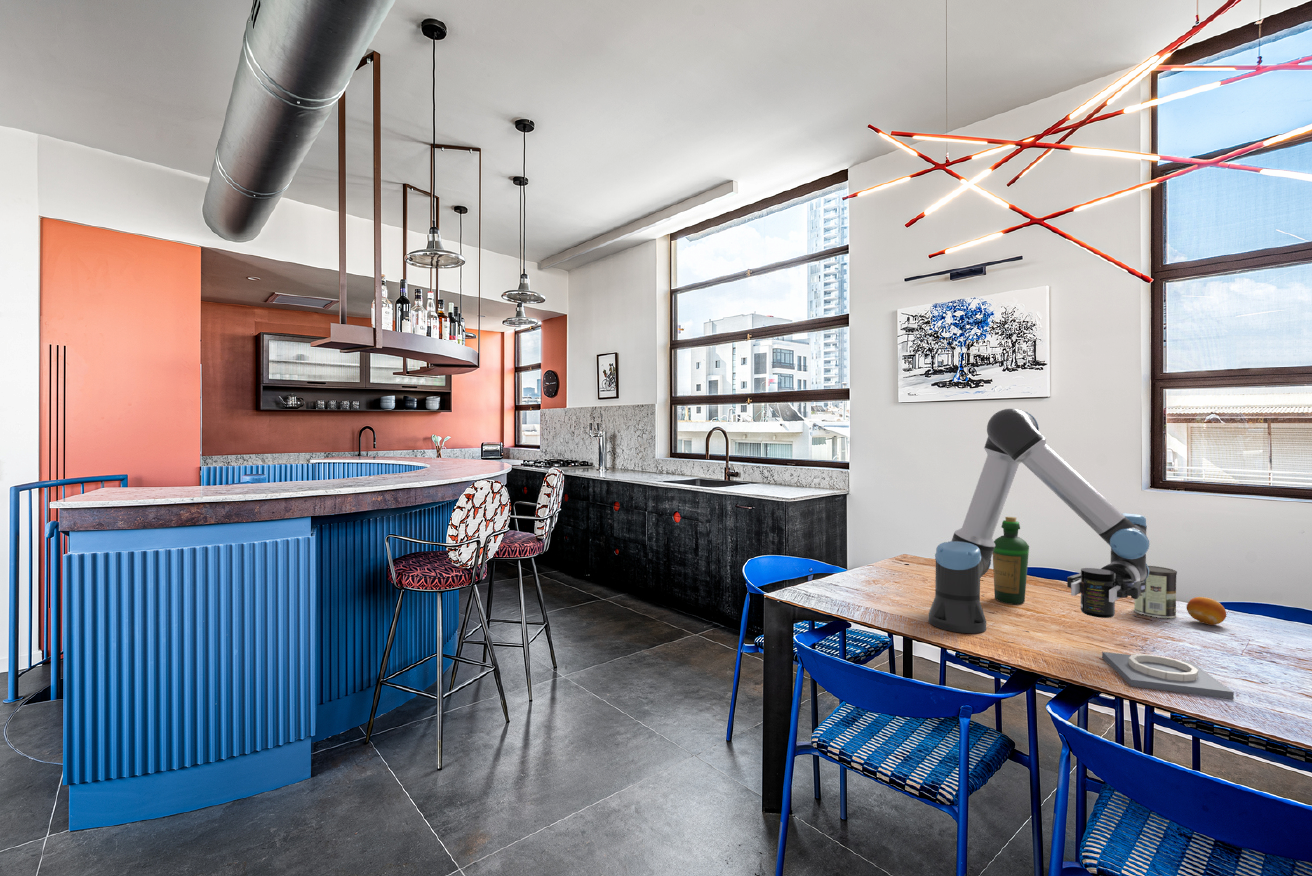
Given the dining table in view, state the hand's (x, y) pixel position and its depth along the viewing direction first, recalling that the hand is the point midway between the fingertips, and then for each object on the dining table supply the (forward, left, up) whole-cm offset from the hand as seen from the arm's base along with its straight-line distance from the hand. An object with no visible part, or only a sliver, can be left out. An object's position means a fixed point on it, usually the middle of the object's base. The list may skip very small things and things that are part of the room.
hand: (1091, 592), depth 141 cm
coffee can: (+35, +62, -19) cm, 74 cm away
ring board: (+15, +3, -19) cm, 24 cm away
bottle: (-5, +61, -19) cm, 64 cm away
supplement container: (+3, +4, -6) cm, 8 cm away
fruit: (+45, +55, -19) cm, 74 cm away
